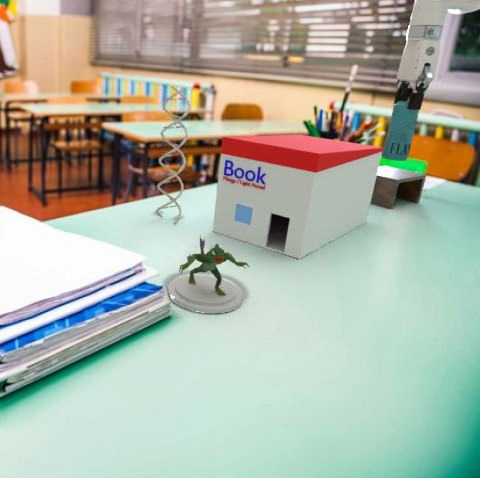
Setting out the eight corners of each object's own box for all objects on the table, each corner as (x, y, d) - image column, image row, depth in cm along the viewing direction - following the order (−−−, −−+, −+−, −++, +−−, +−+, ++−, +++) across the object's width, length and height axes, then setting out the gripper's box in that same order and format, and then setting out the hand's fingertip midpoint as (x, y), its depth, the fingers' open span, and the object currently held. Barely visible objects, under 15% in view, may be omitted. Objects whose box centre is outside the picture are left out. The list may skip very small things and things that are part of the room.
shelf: (419, 202, 137) (426, 174, 134) (390, 209, 130) (397, 179, 128) (378, 192, 147) (385, 165, 144) (349, 197, 140) (355, 169, 137)
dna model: (186, 224, 113) (199, 88, 102) (161, 226, 111) (171, 88, 100) (173, 215, 119) (183, 85, 108) (149, 217, 117) (157, 85, 106)
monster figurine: (181, 317, 74) (187, 254, 70) (159, 281, 85) (163, 225, 81) (255, 311, 76) (264, 250, 72) (224, 277, 87) (231, 223, 83)
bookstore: (211, 231, 109) (222, 136, 102) (287, 202, 132) (300, 124, 125) (299, 260, 96) (319, 153, 88) (366, 222, 119) (386, 136, 111)
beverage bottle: (383, 165, 133) (401, 88, 125) (377, 160, 139) (394, 86, 131) (409, 167, 131) (429, 89, 124) (402, 162, 137) (421, 87, 130)
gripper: (460, 34, 115) (439, 112, 121) (421, 35, 131) (404, 105, 137) (427, 32, 115) (408, 111, 121) (392, 34, 131) (377, 103, 138)
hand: (406, 107), depth 129 cm, fingers closed on beverage bottle, 6 cm apart
